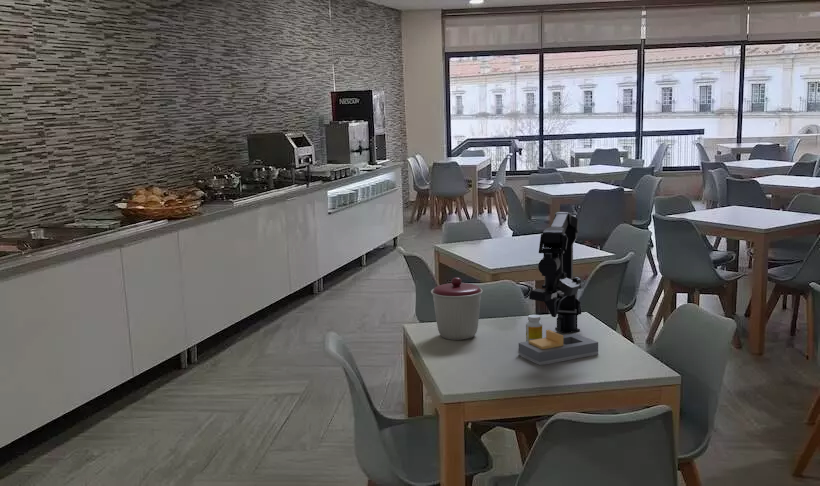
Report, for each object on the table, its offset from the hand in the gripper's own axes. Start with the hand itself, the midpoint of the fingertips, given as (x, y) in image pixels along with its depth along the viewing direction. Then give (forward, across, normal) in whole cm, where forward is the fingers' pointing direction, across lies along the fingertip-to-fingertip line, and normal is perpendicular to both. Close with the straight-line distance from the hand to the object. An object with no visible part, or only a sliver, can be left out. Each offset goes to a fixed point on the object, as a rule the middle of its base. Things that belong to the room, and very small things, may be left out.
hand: (554, 316), depth 244 cm
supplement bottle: (+12, +3, +10) cm, 16 cm away
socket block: (+12, -2, -3) cm, 12 cm away
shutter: (+7, -6, -1) cm, 10 cm away
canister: (+12, -7, +36) cm, 39 cm away
